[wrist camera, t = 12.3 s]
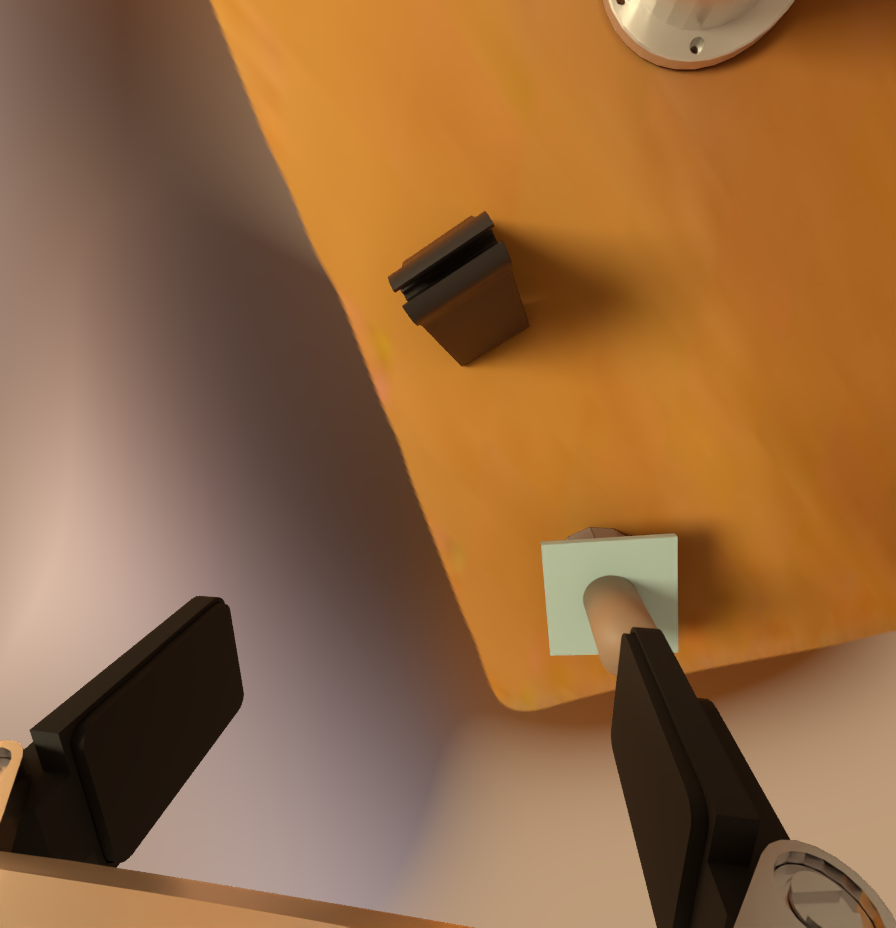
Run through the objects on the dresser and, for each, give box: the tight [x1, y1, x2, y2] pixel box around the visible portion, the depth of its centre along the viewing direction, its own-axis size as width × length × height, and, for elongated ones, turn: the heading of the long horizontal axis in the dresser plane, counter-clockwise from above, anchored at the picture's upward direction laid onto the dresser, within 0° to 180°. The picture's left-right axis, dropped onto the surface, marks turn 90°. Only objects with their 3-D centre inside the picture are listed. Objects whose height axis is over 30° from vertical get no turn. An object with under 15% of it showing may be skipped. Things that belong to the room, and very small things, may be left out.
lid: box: [541, 533, 678, 676], centre depth 30 cm, size 10×10×7 cm
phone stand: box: [388, 211, 529, 366], centre depth 28 cm, size 9×6×12 cm, turn 31°
